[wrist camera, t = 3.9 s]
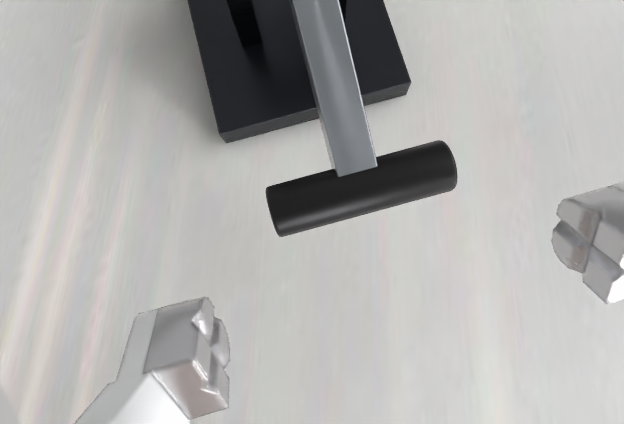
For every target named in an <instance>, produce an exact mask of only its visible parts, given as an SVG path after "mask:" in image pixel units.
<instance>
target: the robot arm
mask: <svg viewBox="0 0 624 424" xmlns="http://www.w3.org/2000/svg"><path fill="white" fill-rule="evenodd" d="M557 216H558V217H559V218H560V219H561V221H560V222H559V223H558V225H557V226H556V227H555V228H554V229H553V234H552V244H553V248H554V251H555V253H556V255H557V256H558V258H559V259H560V261H561V262H562V263H563V264H564V265H565V266H567V267H568V268H569V269H572V270H575V271H578V272H580V273H582V278H583V283H585V284H586V285H587V286H588V287H589V288H590V289H591V290H592V291H593V292H594V293H595V294H596V295H597V296H598V297H600V298H601V299H602V300H603V301H604V302H605V303H606V304H609V303H613V302H618V301H622V300H624V182H622V183H618V184H615V185H611V186H608V187H606V188H601V189H598V190H594V191H591V192H587V193H583V194H580V195H576V196H573V197H569V198H566V199H563V200H562V201H561V203H560V204H559V205H558V209H557ZM229 361H230V346H229V339H228V335H227V332H226V329H225V326H224V324H223V322H222V321H221V320H220V319H218V318H216V317H214V306H213V305H212V303H211V301H210V300H209V298H208V297H201V298H197V299H193V300H189V301H185V302H181V303H177V304H173V305H169V306H165V307H161V308H159V309H155V310H151V311H147V312H142V313H139V314H138V315H137V316H136V317H135V319H134V321H133V325H132V328H131V331H130V335H129V338H128V341H127V345H126V348H125V351H124V355H123V358H122V361H121V365H120V368H119V371H118V375H117V378H116V381H115V382H113V383H109V384H108V385H107V386H106V387H105V388H104V389H103V390H102V392H101V393H100V394H99V395H98V396H97V397H96V399H95V400H94V401H93V402H92V403H91V404H90V405H89V407H88V408H87V409H86V410H85V411H84V412H83V413H82V415H81V416H80V417H79V418H78V419H77V420H76V422H75V423H74V424H190V421H189V420H190V419H194V418H197V417H200V416H204V415H207V414H210V413H213V412H217V411H220V410H223V409H227V408H229V377H228V376H227V374H226V372H225V371H224V369H225V367H226V366H227V364H228V363H229Z"/></svg>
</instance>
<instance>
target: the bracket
mask: <svg viewBox="0 0 624 424" xmlns="http://www.w3.org/2000/svg"><path fill="white" fill-rule="evenodd" d="M339 3H340V7H341V11H342V15H343V20H344V24H345V28H346V32H347V37H348V41H349V45H350V49H351V54H352V58H353V62H354V66H355V71H356V75H357V79H358V83H359V88H360V92H361V96H362V100H363V105H364V106H365V105H369V104H373V103H376V102H380V101H384V100H387V99H391V98H395V97H398V96H402V95H406V93H407V91H408V89H409V86H410V84H411V80H410V77H409V74H408V71H407V68H406V65H405V62H404V60H403V57H402V54H401V51H400V48H399V45H398V42H397V39H396V36H395V33H394V31H393V28H392V25H391V22H390V19H389V16H388V13H387V10H386V7H385V4H384V2H383V0H339ZM188 4H189V9H190V13H191V17H192V21H193V25H194V30H195V34H196V38H197V42H198V46H199V51H200V55H201V59H202V63H203V67H204V72H205V76H206V80H207V84H208V88H209V93H210V97H211V101H212V105H213V110H214V114H215V118H216V122H217V126H218V131H219V134H220V135H221V137H222V138H223V139H224V141H225V142H226V143H229V142H232V141H236V140H240V139H243V138H247V137H251V136H255V135H258V134H262V133H266V132H269V131H273V130H277V129H280V128H284V127H288V126H291V125H295V124H299V123H303V122H306V121H310V120H314V119H317V118H319V115H318V111H317V107H316V103H315V99H314V95H313V91H312V88H311V84H310V80H309V76H308V72H307V68H306V64H305V60H304V56H303V52H302V49H301V45H300V41H299V37H298V33H297V29H296V25H295V21H294V17H293V14H292V10H291V6H290V2H289V0H188Z"/></svg>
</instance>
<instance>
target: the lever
mask: <svg viewBox="0 0 624 424" xmlns="http://www.w3.org/2000/svg"><path fill="white" fill-rule="evenodd" d="M289 2H290V6H291V10H292V14H293V17H294V21H295V25H296V29H297V33H298V37H299V41H300V45H301V49H302V52H303V56H304V60H305V64H306V68H307V72H308V76H309V80H310V84H311V88H312V91H313V95H314V99H315V103H316V107H317V111H318V115H319V119H320V123H321V127H322V130H323V134H324V138H325V142H326V146H327V150H328V154H329V158H330V162H331V166H332V169H331V170H327V171H324V172H320V173H316V174H313V175H309V176H305V177H302V178H298V179H294V180H291V181H287V182H283V183H280V184H276V185H272V186H269V187H267V188H266V198H267V203H268V207H269V211H270V215H271V218H272V221H273V225H274V227H275V230H276V232H277V234H278V235H279V237H284V236H287V235H291V234H294V233H298V232H302V231H305V230H309V229H313V228H316V227H320V226H324V225H327V224H331V223H335V222H338V221H342V220H346V219H349V218H353V217H357V216H360V215H364V214H368V213H371V212H375V211H379V210H382V209H386V208H390V207H393V206H397V205H401V204H404V203H408V202H412V201H415V200H419V199H423V198H426V197H430V196H434V195H437V194H441V193H445V192H448V191H451V190H453V189H454V188H455V186H456V184H457V169H456V164H455V160H454V157H453V154H452V152H451V150H450V148H449V147H448V145H447V144H446V143H445V142H443V141H439V140H438V141H434V142H430V143H427V144H423V145H419V146H416V147H412V148H408V149H405V150H401V151H397V152H394V153H390V154H386V155H383V156H379V157H376V156H375V152H374V147H373V143H372V139H371V135H370V130H369V126H368V122H367V118H366V113H365V109H364V105H363V100H362V96H361V92H360V88H359V83H358V79H357V75H356V71H355V66H354V62H353V58H352V54H351V49H350V45H349V41H348V37H347V32H346V28H345V24H344V20H343V15H342V11H341V7H340V3H339V0H289Z"/></svg>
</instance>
